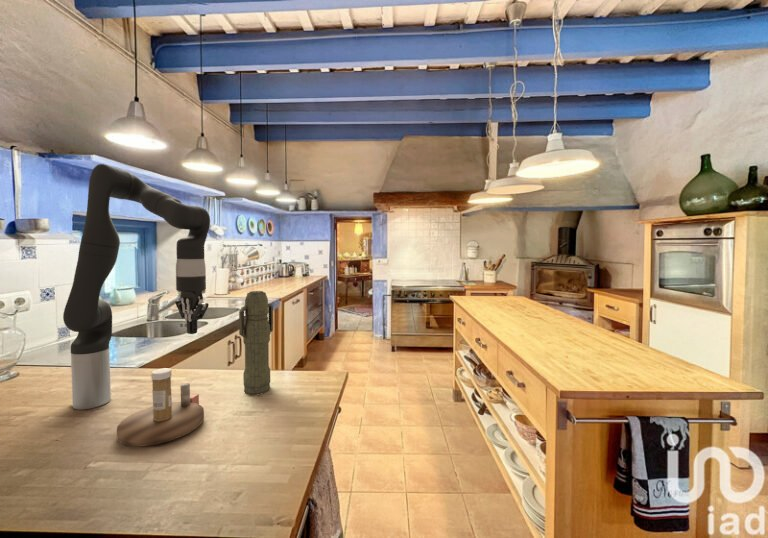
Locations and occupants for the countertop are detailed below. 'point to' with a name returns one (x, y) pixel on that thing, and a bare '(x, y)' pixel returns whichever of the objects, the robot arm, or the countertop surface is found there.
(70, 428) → the countertop surface
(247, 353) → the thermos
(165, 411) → the sprinkles bottle
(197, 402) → the salmon red rectangular block
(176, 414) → the turntable
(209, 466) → the countertop surface
